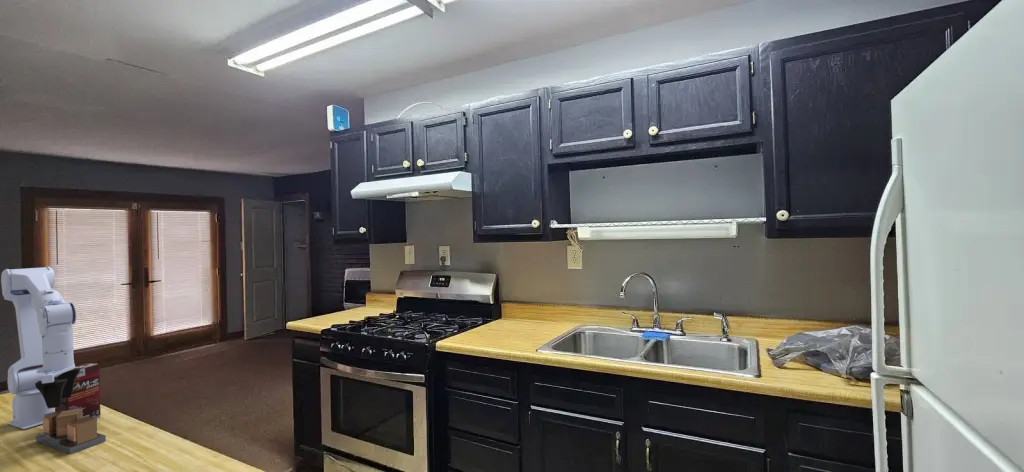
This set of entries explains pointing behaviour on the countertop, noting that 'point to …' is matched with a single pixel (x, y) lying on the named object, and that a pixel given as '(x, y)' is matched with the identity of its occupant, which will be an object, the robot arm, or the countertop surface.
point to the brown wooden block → (66, 421)
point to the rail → (70, 433)
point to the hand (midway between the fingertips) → (59, 402)
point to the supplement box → (85, 392)
